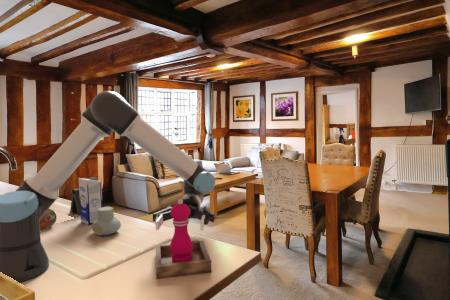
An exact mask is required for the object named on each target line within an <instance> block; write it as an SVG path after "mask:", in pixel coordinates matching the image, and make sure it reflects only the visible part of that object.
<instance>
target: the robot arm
mask: <svg viewBox="0 0 450 300" xmlns="http://www.w3.org/2000/svg"><path fill="white" fill-rule="evenodd" d="M80 118H81V122H80V123H79V124H78V125H77V127H76V128H75V129H73V131H72V132H71V134H70V135H69V136H68V137H67V138H66V140H65V141H64V142H63V143H62V144H61V145H60V146H59V148H57V150H56V151H55V152H54V153H53V155H52V156H51V157H50V158H49V159H48V160H47V162H46V163H45V164H44V165H43V166H42V167H41V169H40V170H39V171H38V172H37V173H36V174H35V175H33V176H31V177H26V179H24V181H23V182H22V183H21V184H20V185H19V186H18V188H17V189H16V190H15V191H8V192H6V193H4V194H0V272H2V273H3V274H5V275H7V276H9V277H11V278H13V279H14V280H16V281H18V282H17V283H20V282H21V283H22V282H25V281H27V280H28V281H29V280H31V279H33V278H36V277H38V276H39V275H42V274H43V273H45V271H47V270H48V269H49V266H50V263H49V262H50V259H49V257H48V254H47V252H46V249H45V248H44V246H43V244H42V241H41V230H40V226H39V221H40V219H41V218H42V216H43V215H44V214H45V212H46V211H47V210H48V209H50V208H51V206H52V205H53V204H54V202H56V200H57V199H58V197H59V195H58V190H60V188H61V187H62V186H63V185H64V184H65V182H67V180H68V179H69V178H70V177H71V175H72V174H73V173H74V172H75V171H76V169H77V168H78V167H79V166H80V165H81V164H82V162H84V160H85V159H86V158H87V157H88V155H89V154H90V153H91V152H92V150H94V148H95V147H96V145H98V143H99V142H100V141H101V140H102V139H103V138H106V137H108V138H109V137H111V135H112V133H113V132H114V133H117V134H118V135H119V136H120V137H127V138H128V139H129V140H131V141H132V142H133V143H135V144H136V145H137V146H139V148H141V149H142V150H144V151H146V153H148V154H149V155H151V156H152V157H153V158H155V159H156V160H157V161H158V162H160V163H161V164H162V165H164V166H165V167H166V168H167V169H169V170H171V171H172V172H173V173H174V174H175V175H177V176H178V177H180V178H181V179H182V180H183V197H182V198H181V199H182V200H183V204H186V205H188V207H189V208H190V215H189V217H188V219H189V220H190V219H197V220H200V222H199V224H200V226H199V227H200V231H204V229H205V225H209V222H211V223H215V221H216V220H215V218H216V217H215V213H213V212H212V211H211V210H209V209H208V207H207V206H202V207H201V205H202V204H203V202H204V199H205V196H204V194H207V193H210V192H212V190H213V189H214V188H215V185H216V178H215V176H214V175H213V174H212V173H211V172H210V171H208V170H207V169H205V168H204V166H203V161H202V160H201V159H196V158H195V159H193V158H191V157H190V156H189V155H188V154H186V153H185V152H184V151H183V150H181V149H180V148H179V147H178V146H177V145H175V144H174V143H173V142H172V141H170V140H169V139H168V138H167V137H165V136H164V135H162V134H161V133H160V132H159V131H158V130H156V129H155V128H154V127H152V126H151V125H150V124H149V123H148V122H147V121H145V120H144V119H143V118H142V117H141V112H139V111H138V110H136V108H134V107H133V106H132V105H131V104H130V103H129V102H128V101H127V100H126V98H125V97H124V96H122V95H121V94H120V93H118V92H116V91H111V90H104V91H101V92H99V93H98V94H96V95H95V96H94V97H93V98H92V100H91V103H90V104H89V105H88V106H87V108H85V110H84V111H83V112H82V113H81V115H80ZM172 207H173V206H171V205H169V206H167V207H166V208H163V209H161V210H159V211H156V212H154V213H152V222H154V223H155V231H159V229H160V228H161V227H162V225H163V224H164V222H165V221H169V220H173V219H174V218H173V217H172V216H171V209H172Z"/></svg>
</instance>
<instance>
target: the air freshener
mask: <svg viewBox="0 0 450 300" xmlns="http://www.w3.org/2000/svg"><path fill="white" fill-rule="evenodd" d="M114 213H115V212H114V207H112V206H103V207H102V208H99V209H98V219H97V220H96V221H94V222H93V224H92V225H91V231H92V232H93V233H94V234H96V235H99V236H101V235H102V236H103V235H104V236H110V235H112V234H115V233H117V231H119V230H120V229H121V227H122V226H121V225H122V223H121V220H120V219H118V218H117V217H115V214H114ZM102 236H101V237H102ZM104 236H103V237H104Z"/></svg>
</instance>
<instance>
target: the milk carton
mask: <svg viewBox="0 0 450 300" xmlns="http://www.w3.org/2000/svg"><path fill="white" fill-rule="evenodd" d="M102 185H103V184H102V181H101V180H98V178H97V177H94V176H91V177H90V178H86V177H85V178H84V177H82V178H80V177H78V188H79V194H80V210H81V215H80V222H81V224H84V225H86V226H88V227H89V226H92V224H93V222H94V221H96V220H97V219H98V209H99V208H102V207H104V206H103V191H102V189H103V187H102Z"/></svg>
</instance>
